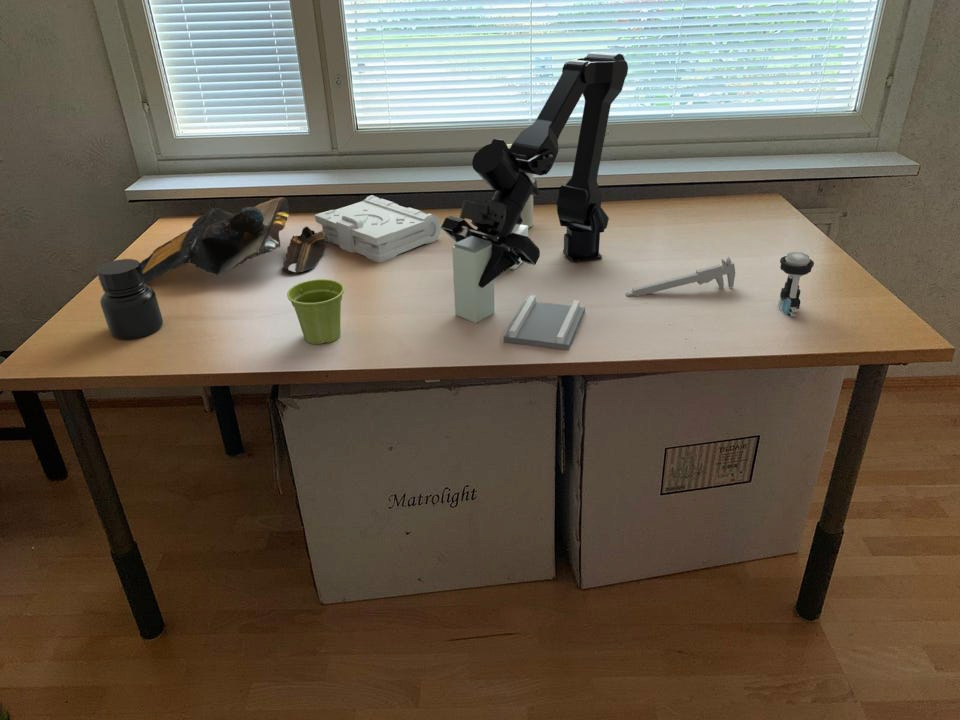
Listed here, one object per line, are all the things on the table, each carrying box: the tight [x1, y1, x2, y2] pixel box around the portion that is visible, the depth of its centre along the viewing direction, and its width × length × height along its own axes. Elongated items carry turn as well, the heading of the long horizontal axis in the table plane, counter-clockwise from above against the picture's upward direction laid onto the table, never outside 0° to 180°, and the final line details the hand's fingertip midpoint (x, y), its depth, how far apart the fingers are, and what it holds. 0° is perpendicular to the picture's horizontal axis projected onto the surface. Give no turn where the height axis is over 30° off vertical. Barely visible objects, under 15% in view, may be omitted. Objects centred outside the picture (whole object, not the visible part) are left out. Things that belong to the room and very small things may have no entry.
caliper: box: [625, 256, 736, 297], centre depth 132 cm, size 20×1×6 cm, turn 97°
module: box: [451, 236, 496, 324], centre depth 124 cm, size 5×5×14 cm
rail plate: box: [503, 294, 586, 351], centre depth 122 cm, size 14×11×2 cm
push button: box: [777, 251, 815, 317], centre depth 123 cm, size 7×5×10 cm
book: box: [314, 194, 442, 264], centre depth 162 cm, size 19×28×8 cm
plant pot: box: [286, 278, 345, 345], centre depth 120 cm, size 9×9×9 cm
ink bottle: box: [96, 258, 164, 340], centre depth 124 cm, size 10×9×12 cm
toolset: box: [140, 196, 327, 285], centre depth 151 cm, size 40×20×27 cm
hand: (468, 282), depth 124 cm, fingers closed on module, 5 cm apart
